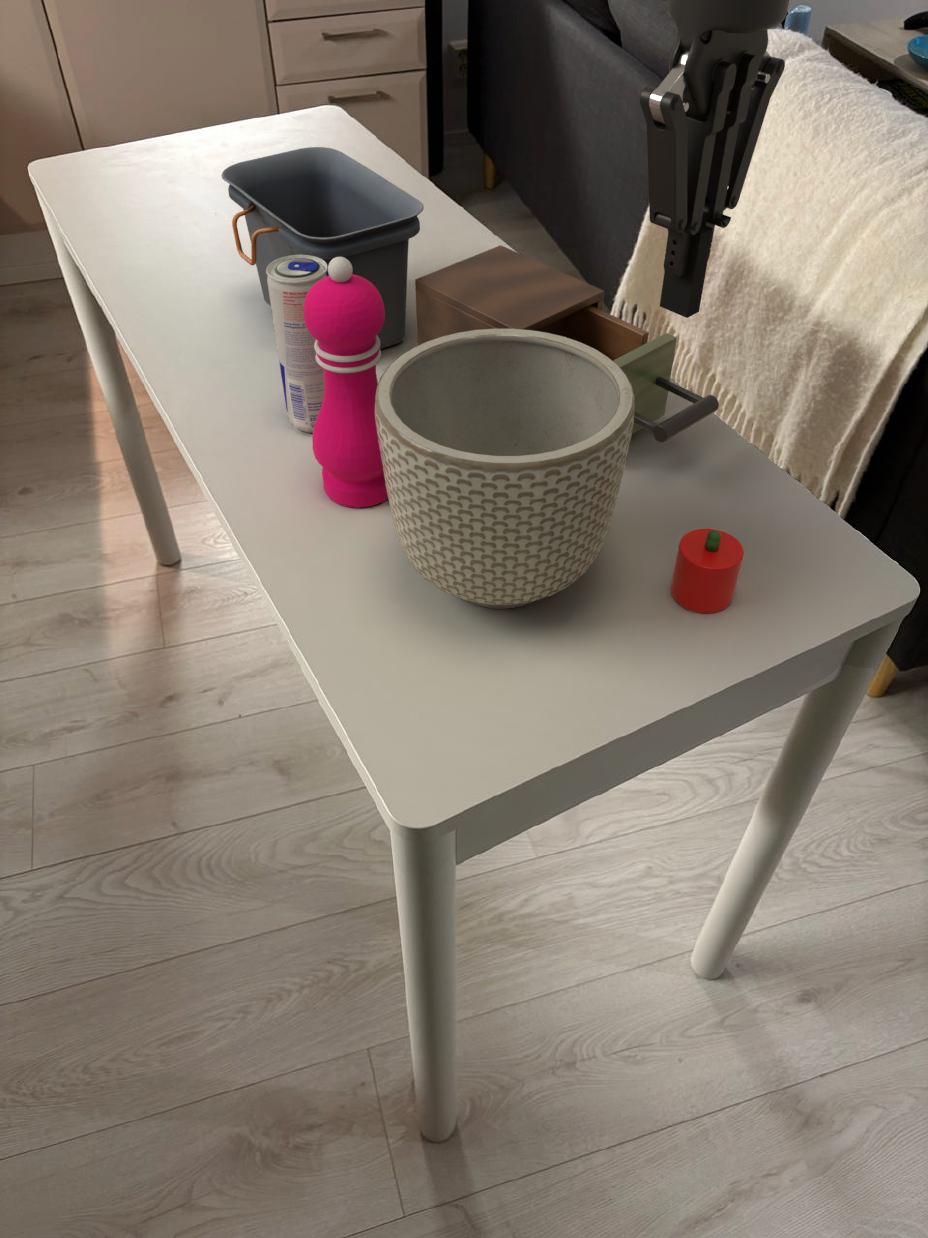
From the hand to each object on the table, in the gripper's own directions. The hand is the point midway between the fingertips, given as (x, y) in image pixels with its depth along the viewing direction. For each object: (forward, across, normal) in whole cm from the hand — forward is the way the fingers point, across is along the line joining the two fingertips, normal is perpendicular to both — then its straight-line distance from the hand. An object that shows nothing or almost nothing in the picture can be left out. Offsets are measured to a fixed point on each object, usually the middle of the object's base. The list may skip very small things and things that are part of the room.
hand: (679, 308), depth 76 cm
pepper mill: (+14, +22, -15) cm, 30 cm away
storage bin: (+14, +7, -40) cm, 43 cm away
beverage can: (+14, +18, -25) cm, 34 cm away
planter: (+14, +20, +2) cm, 25 cm away
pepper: (+14, +11, +14) cm, 22 cm away
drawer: (+13, 0, -6) cm, 15 cm away
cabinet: (+14, 0, -19) cm, 24 cm away
